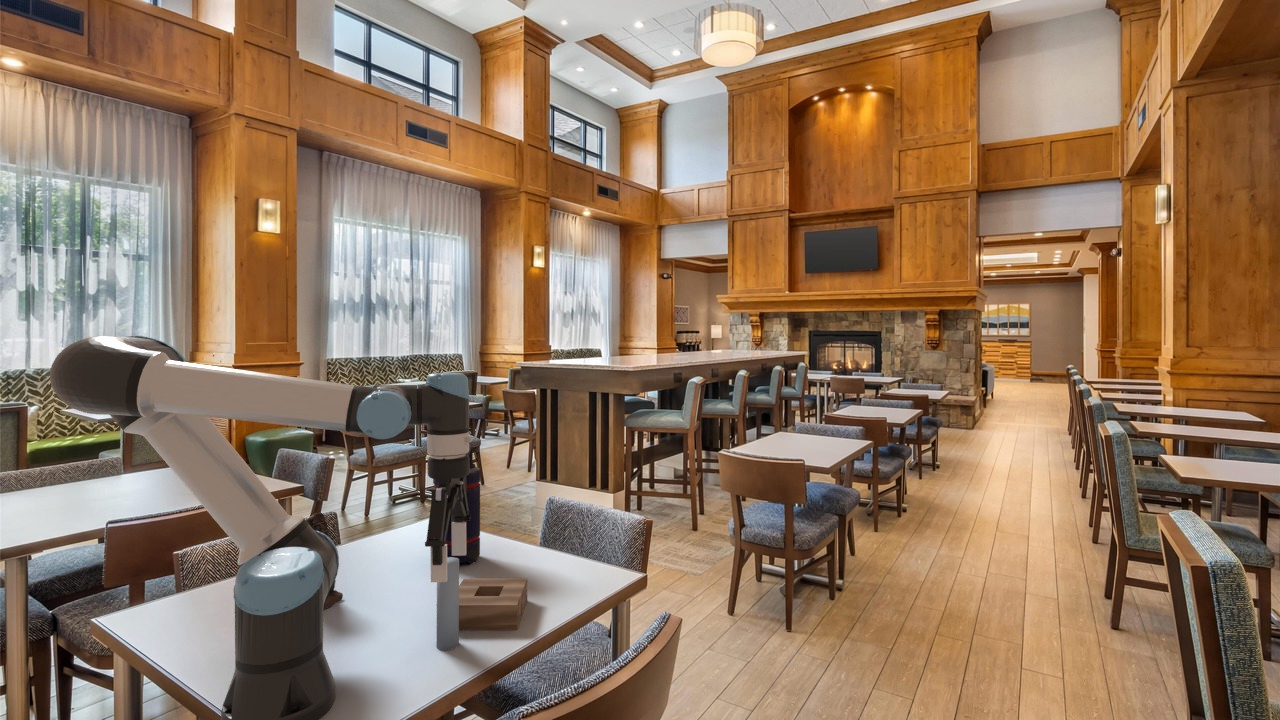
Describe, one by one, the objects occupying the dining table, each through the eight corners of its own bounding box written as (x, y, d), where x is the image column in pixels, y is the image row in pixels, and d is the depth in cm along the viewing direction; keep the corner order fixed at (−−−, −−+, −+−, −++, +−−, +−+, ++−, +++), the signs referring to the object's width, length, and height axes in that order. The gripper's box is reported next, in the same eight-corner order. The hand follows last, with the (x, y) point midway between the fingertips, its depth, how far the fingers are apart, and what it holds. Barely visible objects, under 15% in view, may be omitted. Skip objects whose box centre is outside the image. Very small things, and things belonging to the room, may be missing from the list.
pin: (455, 650, 112) (455, 564, 112) (433, 650, 112) (434, 564, 112) (461, 639, 116) (461, 557, 116) (440, 640, 116) (440, 557, 116)
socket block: (516, 629, 121) (517, 604, 121) (445, 630, 120) (446, 605, 120) (527, 600, 135) (527, 578, 134) (463, 600, 134) (463, 578, 134)
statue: (321, 612, 128) (321, 518, 127) (292, 609, 129) (292, 515, 129) (344, 599, 134) (343, 509, 134) (316, 596, 136) (315, 507, 136)
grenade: (432, 555, 163) (432, 444, 163) (477, 550, 167) (478, 442, 167) (433, 573, 150) (434, 453, 150) (483, 567, 154) (483, 450, 154)
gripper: (450, 468, 101) (451, 594, 102) (483, 444, 126) (484, 545, 127) (405, 468, 101) (406, 594, 101) (447, 444, 126) (448, 545, 126)
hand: (449, 567), depth 114 cm, fingers open, 13 cm apart
